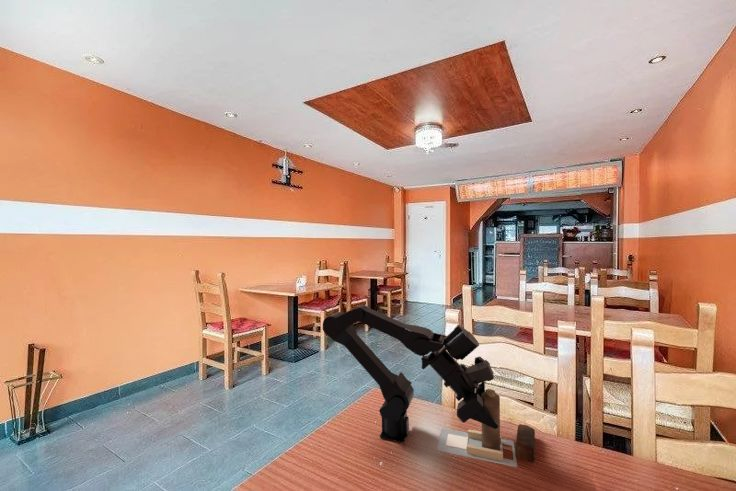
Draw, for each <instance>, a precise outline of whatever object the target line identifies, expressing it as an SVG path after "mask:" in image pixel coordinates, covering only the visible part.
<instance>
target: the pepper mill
mask: <svg viewBox="0 0 736 491" xmlns="http://www.w3.org/2000/svg"><path fill="white" fill-rule="evenodd" d="M481 398H482V399H483V398H485V407H486V409H487V410H488V411H489V413H490V414H491V415H492V417H493V418H494V420H495V421H496V423H497V424H498V426H499V427H498V428H497V429H494V428H492V427H489V426H487V425H485V424H483V423H481V432H482V447H483V448H488V449H493V450H498V451H500V435H501V404H500V402H501V401H500V400H501V399H500V395H499V394H497V393H496V390H494V389H493V388H485V392H484V393H482V394H481Z"/></svg>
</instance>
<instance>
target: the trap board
mask: <svg viewBox="0 0 736 491" xmlns="http://www.w3.org/2000/svg"><path fill="white" fill-rule="evenodd" d="M438 438H439V439H438V441H437V442H438V443H437V447H436V451H438V452H442V453H447V454H452V455H457V456H460V457H465V458H470V459H474V460H480V461H485V462H488V463H489V462H490V463H495V464H498V465H504V466H509V467H514V468H518V462H517V458H516V446H515V442H514V440H509V439H505V438H504V439H503V438H502V434H500V451H498V450H493V449H488V448H483V447H482V431H481V430H480V431H479V430H473V429H468V430H467V432H465V431H461V430H455V429H451V428H445V427H441V428H440V434H439V437H438ZM503 445H504V446H511V450H512V457H513V459H510V458H504V448H503Z"/></svg>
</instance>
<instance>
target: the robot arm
mask: <svg viewBox="0 0 736 491" xmlns="http://www.w3.org/2000/svg"><path fill="white" fill-rule="evenodd" d="M357 323H362V324H364V325H367V326H368V327H370V328H372V329H374V330H376V331H378V332H381V333H383V334H385V335H388V336H390V337H391V338H394V339H395V340H398V341H399V342H400V344H402V345H403V346H404V347H405V348H406V349H408V350H409V351H411V352H412V353H413V354H415V355H417V356H420V357H421V358H420V360H421V369H422V370H425V369H427V367H428V366H430V367H431V368H432V370H434V371H435V373H436V374H437V375H438V376H439V377H440V378H441V379H442V380H443V382H444V383H443V386H444V387H445V388H448V387H449V388H450V389H451V390H452V391H453V392H454V393H455V398H456V400H457V401H458V403H457V407H456V417H457V418H458V419H459V420H460V421H461V422H462V423H463V424H465V423H467V421H468V420H470V419H471V420H473V421H476V422H479V423H480V424H482V423H483V424H485V425H487V426H489V427H492V428H494V429H497V428H498V427H499V426H498V424H497V423H496V421H495V420H494V418H493V417H492V415H491V414H490V413H489V411H488V410H487V409H486V407H485V398H483V399H482V398H481V394H482V393H484V392H486V382H490V381H493V380H494V379H495V376H494V370H493V369H492V366H491V363H490V362H489V361H488V360H487V359H484V358H482V357H481V355H480V356H479V355H478V356H477V357H474V364H471V365H470V366H468V367H467V366H466V365H465V364H464V363H459V362H458V361H459V360H460V361H461V360H462V361H463V360H464V359H465V358H466V357H468V356H469V355H470V354H471V353H472V352H474V351H475V350H476V349H477V348H478V347H479V346H480V343H479V341H478V340H477V338H476V337H475V336H474V335H473V334H472V332H470V331H468V329H465V328H464V327H462V326H461V325H460V324H457V325H456V326H455V327H454V329H453V330H452V331H451V332H450V333H449V334H447V335H446V334H445V335H444V334H441V333H436V332H434V331H433V330H431V329H430V328H428V327H423V326H419V325H416V324H407V323H403V322H402V321H399V320H397V319H396V318H393V317H390V316H388V315H386V314H384V313H381V312H379V311H376V310H374V309H372V308H370V307H368V306H367V305H365V304H360V305H358V306H356V307H355V308H352V309H350V310H347V311H346V312H344V311H337V312H334V313H332V314H330V315H328V316H327V317H325V318H324V320H323V321H322V328H321V329H322V331H323V333H324V334H325V335H326V336H327V337H329V338H330V339H331V340H332V341H333V342H336V343H338V344H340V345H342V346H343V347H345V349H346V350H347V351H348V352H349V353H350V354H351V355H352V356H353V357H354V358H355V359H356V360H357V362H358V363H359V364H360V365H361V367H362V368H363V369H364V370H365V371H366V372H367V374H369V375H370V376H371V378H372V379H373V381H375V382H376V384H378V386H379V389H380V391H381V395H382V397H383V400H384V402H383V404H382V405H381V406H380V408H379V414H380V418H381V432H380V434H379V438H380V439H382V440H388V441H393V442H397V443H404V442H405V439H406V437H408V435H409V432H410V421H409V419H410V418H409V416H408V414H407V413H408V409H409V407H410V405H411V403H412V400H413V398H414V396H415V392H414V390H415V389H414V388H413V386H412V381H410V380H409V379H407V377H406V376H405V374H404V373H403V372H401V371H400V373H398V374H396V373H393V372H392V371H391V370H390V368H388V367H387V366H386V365H385V364H384V362H382V361H381V359H380V358H379V357H378V356H377V355H376V354H375V353H374V351H373V350H372V349H371V348H370V347H369V346H368V345H367V344H366V342H365V341H364V340H363V339H362V338H361V337H360V336H359V335H358V334H357V331H356V328H355V325H354V324H357Z"/></svg>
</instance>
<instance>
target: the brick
mask: <svg viewBox="0 0 736 491" xmlns="http://www.w3.org/2000/svg"><path fill="white" fill-rule="evenodd" d="M516 432H517V433H516V440H515V441H516V442H515V454H516V459H517V460H518V459H519V460H522V461H525V462H530V463H535V459H536V457H535V450H536V449H535V444H536V442H535V441H536V437H535V436H536V431H535V429H534V428H533V427H531V426H530V425H526V424H520V423H519V424H518V425H517V431H516Z"/></svg>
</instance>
